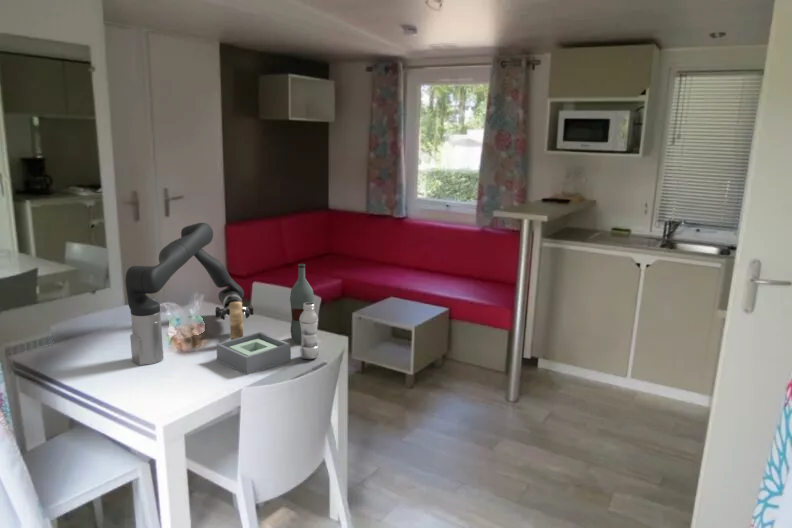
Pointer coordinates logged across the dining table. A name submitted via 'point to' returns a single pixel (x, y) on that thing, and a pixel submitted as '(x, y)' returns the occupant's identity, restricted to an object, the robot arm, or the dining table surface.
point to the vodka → (299, 302)
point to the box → (256, 360)
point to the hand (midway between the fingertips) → (235, 316)
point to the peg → (236, 320)
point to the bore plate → (252, 347)
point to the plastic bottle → (309, 332)
